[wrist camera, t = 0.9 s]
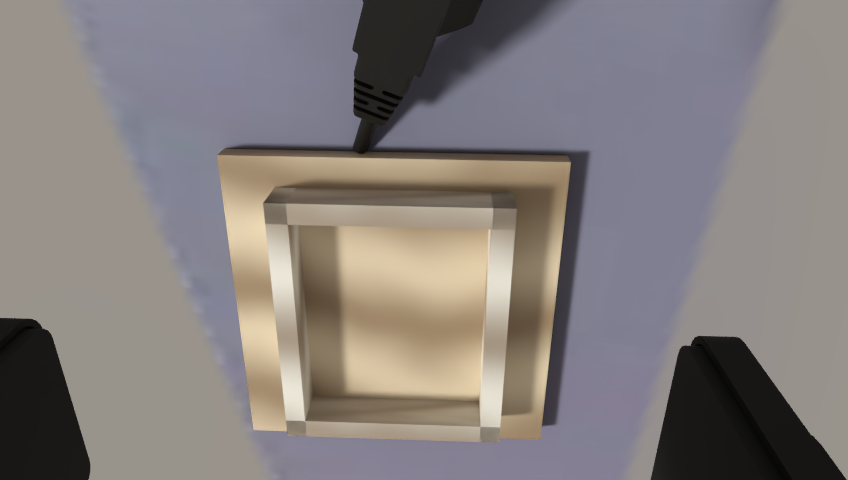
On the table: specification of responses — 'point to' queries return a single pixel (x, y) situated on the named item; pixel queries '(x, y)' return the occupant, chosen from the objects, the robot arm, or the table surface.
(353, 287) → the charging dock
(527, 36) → the table surface
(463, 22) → the power plug
